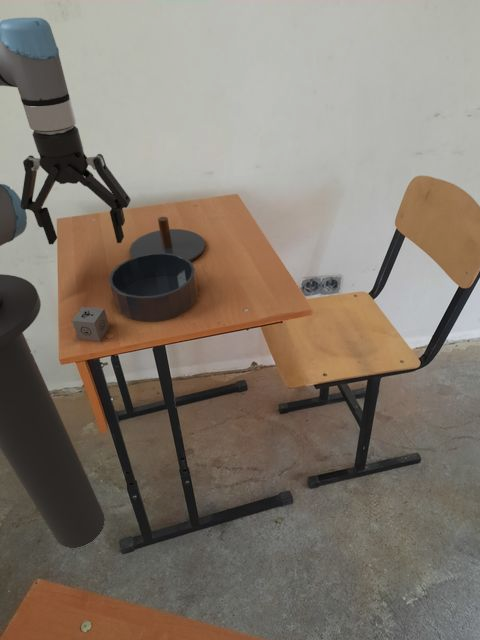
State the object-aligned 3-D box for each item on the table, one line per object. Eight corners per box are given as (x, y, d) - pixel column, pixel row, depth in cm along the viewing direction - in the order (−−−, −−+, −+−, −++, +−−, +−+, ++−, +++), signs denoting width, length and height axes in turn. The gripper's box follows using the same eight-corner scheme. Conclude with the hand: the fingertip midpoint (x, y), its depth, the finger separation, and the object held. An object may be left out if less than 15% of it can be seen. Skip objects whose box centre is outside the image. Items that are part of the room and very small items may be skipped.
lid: (124, 270, 123) (116, 238, 117) (137, 233, 138) (130, 203, 132) (202, 267, 123) (199, 235, 117) (206, 231, 138) (203, 201, 132)
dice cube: (88, 325, 105) (82, 306, 102) (109, 327, 105) (104, 308, 101) (78, 339, 101) (71, 320, 98) (99, 341, 101) (94, 322, 98)
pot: (107, 323, 106) (100, 299, 101) (123, 276, 120) (118, 254, 116) (194, 320, 106) (191, 296, 102) (200, 274, 121) (197, 251, 116)
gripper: (131, 120, 84) (152, 230, 98) (-9, 123, 84) (32, 233, 98) (121, 133, 78) (145, 248, 92) (-28, 136, 78) (17, 250, 92)
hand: (87, 240), depth 95 cm, fingers open, 13 cm apart
